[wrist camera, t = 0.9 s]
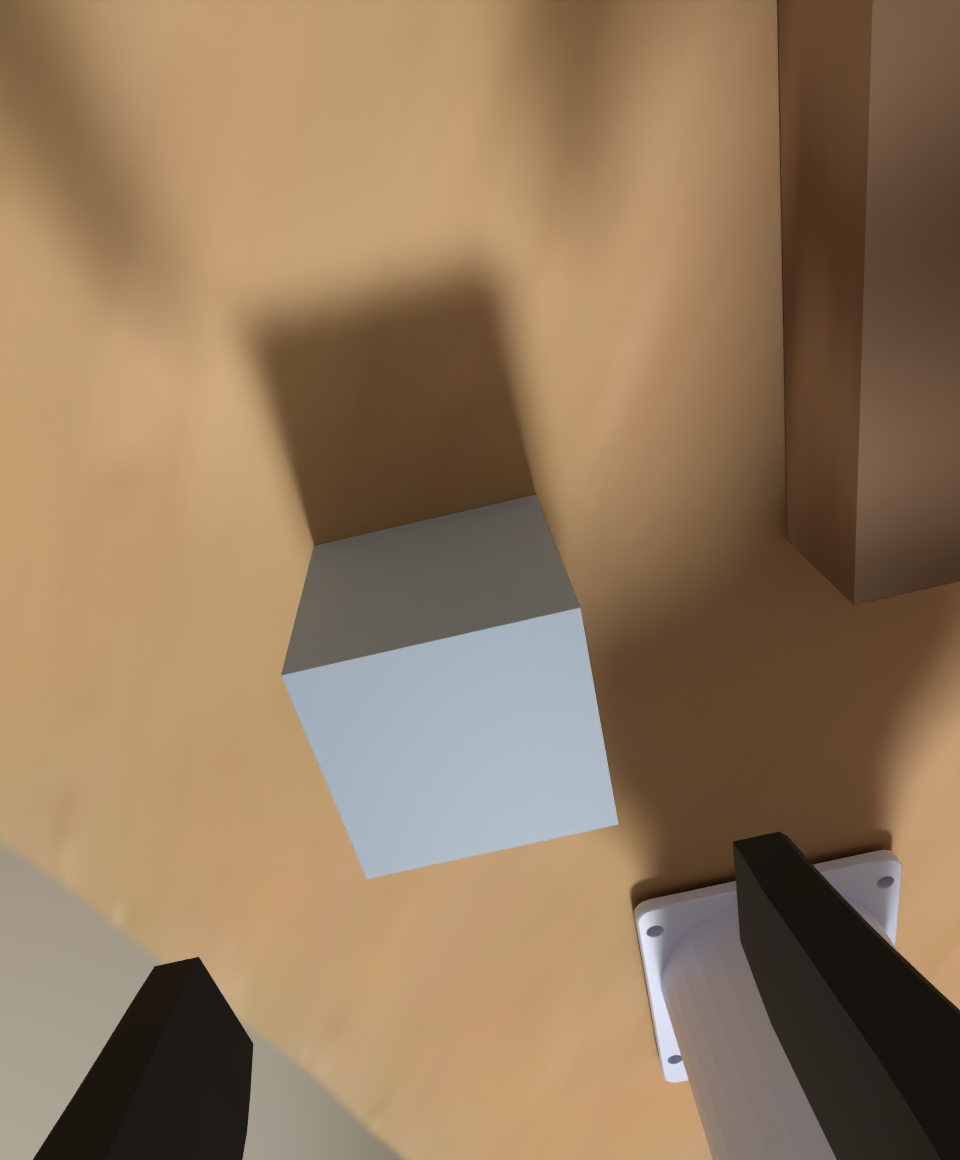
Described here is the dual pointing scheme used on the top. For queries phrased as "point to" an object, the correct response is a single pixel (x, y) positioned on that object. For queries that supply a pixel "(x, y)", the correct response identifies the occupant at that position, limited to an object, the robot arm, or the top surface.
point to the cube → (449, 688)
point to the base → (872, 289)
